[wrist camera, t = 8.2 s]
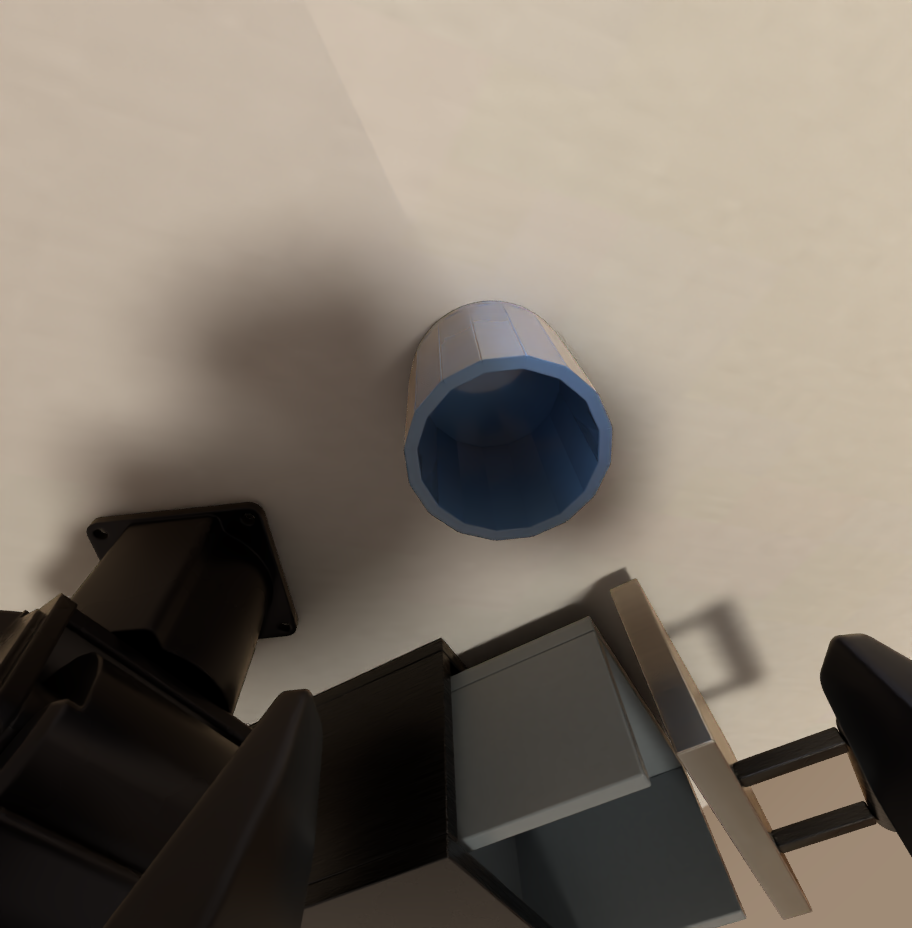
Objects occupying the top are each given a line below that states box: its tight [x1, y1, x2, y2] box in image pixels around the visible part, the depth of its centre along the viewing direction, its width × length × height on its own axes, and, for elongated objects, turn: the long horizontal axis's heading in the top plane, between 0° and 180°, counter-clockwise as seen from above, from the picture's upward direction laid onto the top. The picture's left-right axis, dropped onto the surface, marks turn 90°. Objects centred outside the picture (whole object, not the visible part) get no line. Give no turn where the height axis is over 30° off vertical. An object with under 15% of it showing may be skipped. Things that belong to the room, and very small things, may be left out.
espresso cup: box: [404, 301, 613, 540], centre depth 17 cm, size 5×5×6 cm
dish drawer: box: [451, 579, 896, 928], centre depth 23 cm, size 17×13×7 cm
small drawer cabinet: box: [250, 639, 553, 928], centre depth 26 cm, size 13×14×9 cm
